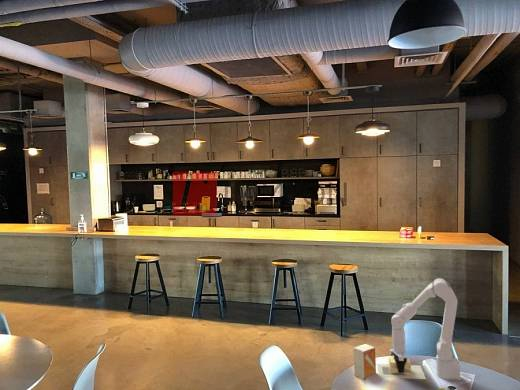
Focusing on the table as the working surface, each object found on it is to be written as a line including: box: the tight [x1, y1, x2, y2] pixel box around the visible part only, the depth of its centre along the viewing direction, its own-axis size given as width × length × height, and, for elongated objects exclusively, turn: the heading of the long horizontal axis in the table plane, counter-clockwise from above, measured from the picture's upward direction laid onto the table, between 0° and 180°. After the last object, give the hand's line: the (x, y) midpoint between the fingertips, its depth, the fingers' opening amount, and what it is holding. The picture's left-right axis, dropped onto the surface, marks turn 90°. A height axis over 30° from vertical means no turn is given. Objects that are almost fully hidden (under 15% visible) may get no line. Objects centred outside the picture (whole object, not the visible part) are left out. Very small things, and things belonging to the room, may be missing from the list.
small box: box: [353, 343, 377, 380], centre depth 197 cm, size 8×6×13 cm
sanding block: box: [388, 357, 412, 374], centre depth 197 cm, size 9×5×5 cm, turn 79°
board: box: [376, 363, 427, 380], centre depth 197 cm, size 20×14×1 cm
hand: (400, 369), depth 197 cm, fingers closed on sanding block, 5 cm apart
